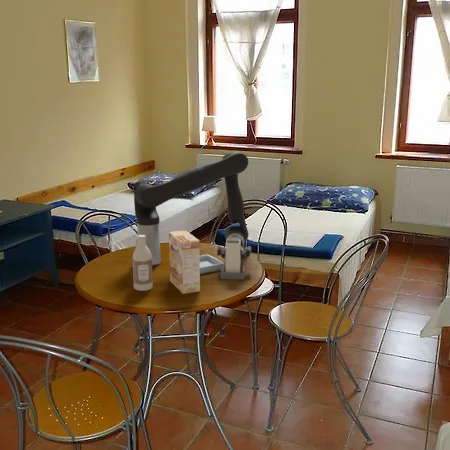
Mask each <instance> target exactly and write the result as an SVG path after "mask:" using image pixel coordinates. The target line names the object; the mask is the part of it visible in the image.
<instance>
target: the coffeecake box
mask: <svg viewBox="0 0 450 450" xmlns="http://www.w3.org/2000/svg"><path fill="white" fill-rule="evenodd" d="M168 238H169V239H168V242H169V244H168V245H169V246H168V247H169V252H168V253H169V282H171V284H172V285H174V287H175V288H176V289H177V290H178V291H179V292H180V293H181V294H182V295H184V294H185V295H186V294H190V293H198V292H200V291H201V276H200V275H201V274H200V256H201V255H200V254H201V252H200V247H201V246H200V243H201V242H200V240H199V239H198V238H197V237H195V236H194V235H193V234H191V233H190V232H188V231H187V230H177V231H175V230H174V231H169V232H168Z"/></svg>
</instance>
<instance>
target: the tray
mask: <svg viewBox="0 0 450 450" xmlns="http://www.w3.org/2000/svg"><path fill="white" fill-rule="evenodd" d="M222 266H225V267H226V262H224V261H222V260H220V259H218V258H217V257H215V256H212V255H210V254H202V255H200V275H203V274H209V273H212V272H213V273H214V272H218V271H221V268H222Z"/></svg>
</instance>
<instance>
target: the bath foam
mask: <svg viewBox="0 0 450 450" xmlns="http://www.w3.org/2000/svg"><path fill="white" fill-rule="evenodd" d="M136 239H137V240H138V246H137V248H136V247H135V249H134V251H133V254H132V278H133V289H134V290H136V291H138V292H139V291H140V292H147V291H149V290H151V289H153V286H154V285H153V283H154V282H153V265H152V255H151V252H150V250H149V249H148V247H147V246H146V236H145V235H137V238H136Z"/></svg>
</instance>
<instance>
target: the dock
mask: <svg viewBox="0 0 450 450" xmlns="http://www.w3.org/2000/svg"><path fill="white" fill-rule="evenodd" d="M241 269H242V270H241V272H240V273H238V272H226V271H225V270H226V265H225V266H222V268H221V270H220V280H241V281H242V280H245V276H246V266H244V265H243V266H242V268H241Z"/></svg>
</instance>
